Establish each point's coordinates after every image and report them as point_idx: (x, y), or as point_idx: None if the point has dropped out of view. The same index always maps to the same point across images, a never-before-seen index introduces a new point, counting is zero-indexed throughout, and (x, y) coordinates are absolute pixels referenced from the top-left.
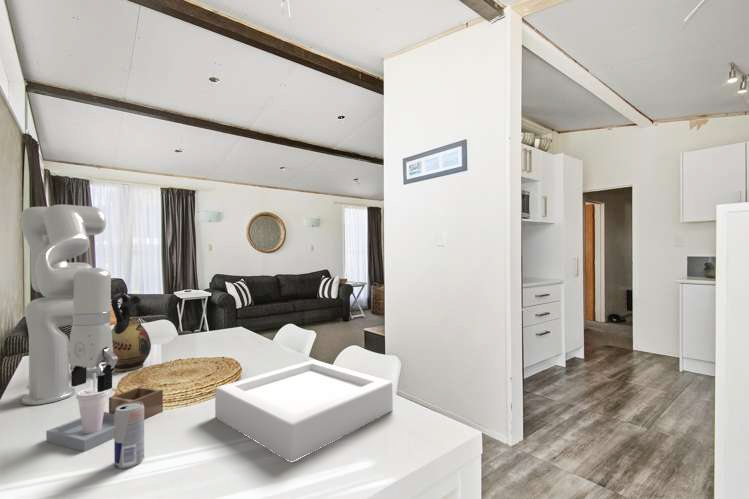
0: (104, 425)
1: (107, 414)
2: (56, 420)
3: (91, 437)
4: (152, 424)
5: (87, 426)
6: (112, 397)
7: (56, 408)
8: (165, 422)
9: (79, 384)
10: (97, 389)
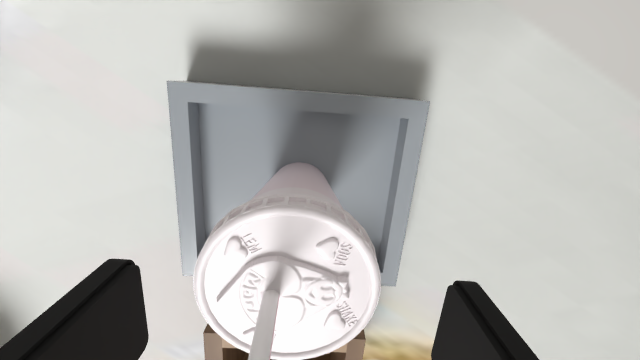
0: None
1: None
2: (543, 224)
3: (169, 110)
4: (170, 288)
5: (281, 170)
6: (350, 344)
7: (635, 288)
8: None
9: (441, 319)
10: (116, 269)
